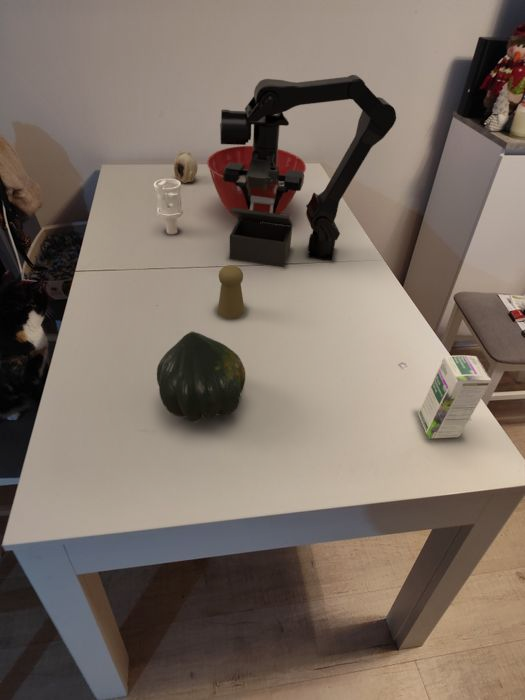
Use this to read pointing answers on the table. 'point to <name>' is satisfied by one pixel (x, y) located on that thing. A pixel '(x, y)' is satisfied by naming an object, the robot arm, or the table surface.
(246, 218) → the lid
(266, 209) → the mixing bowl
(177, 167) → the beige rounded hollow piece
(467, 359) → the syrup box
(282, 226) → the open black tray
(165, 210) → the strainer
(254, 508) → the table surface
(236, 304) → the peg doll
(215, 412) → the squash
